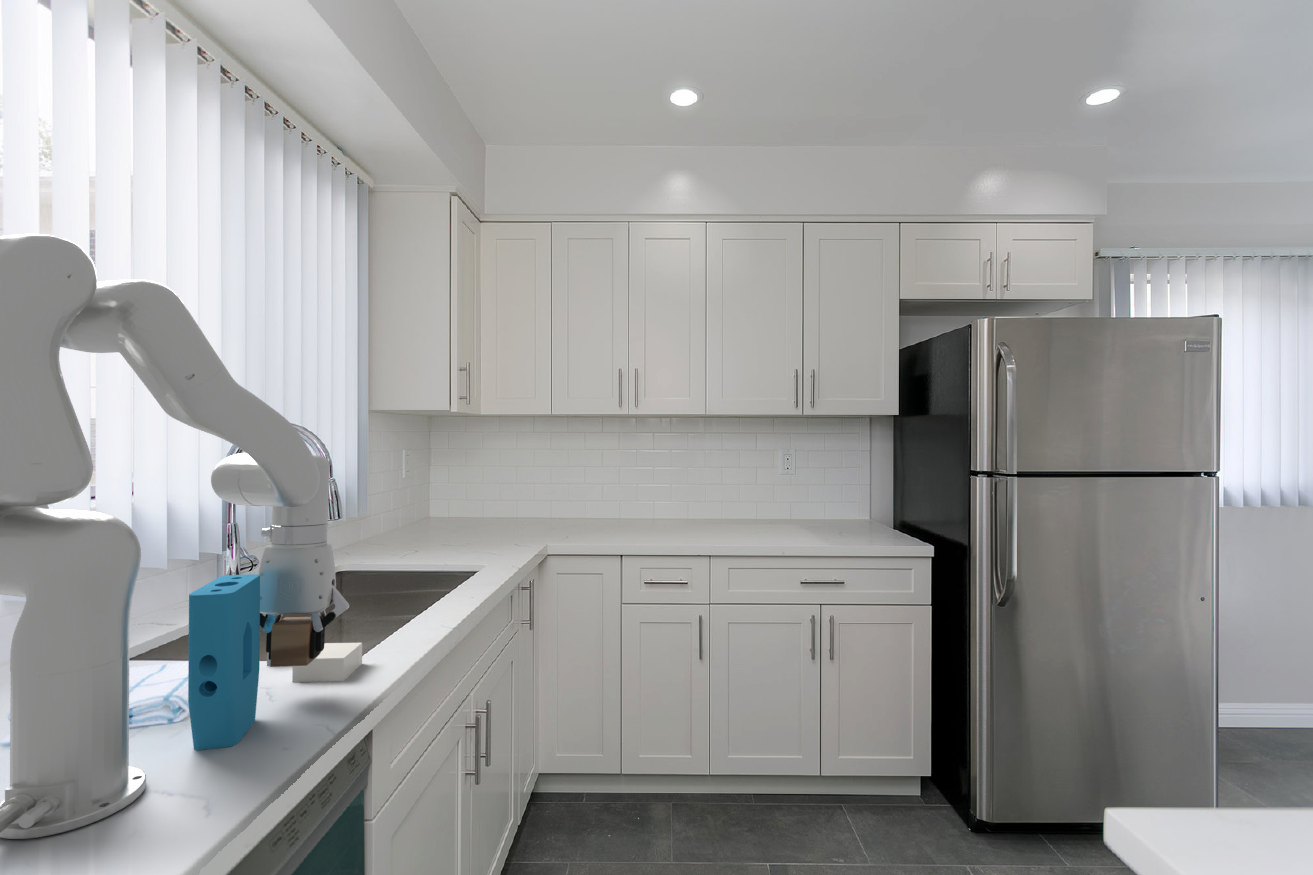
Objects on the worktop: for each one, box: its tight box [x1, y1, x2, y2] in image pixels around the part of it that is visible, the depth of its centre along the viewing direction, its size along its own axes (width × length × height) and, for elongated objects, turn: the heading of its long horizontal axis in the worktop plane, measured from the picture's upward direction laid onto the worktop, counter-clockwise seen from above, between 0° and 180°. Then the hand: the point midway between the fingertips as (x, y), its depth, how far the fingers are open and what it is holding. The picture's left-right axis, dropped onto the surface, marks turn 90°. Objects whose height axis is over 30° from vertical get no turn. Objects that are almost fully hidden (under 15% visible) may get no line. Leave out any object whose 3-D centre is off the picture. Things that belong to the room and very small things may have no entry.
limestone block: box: [291, 642, 363, 683], centre depth 110 cm, size 8×8×4 cm
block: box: [187, 573, 261, 751], centre depth 87 cm, size 12×5×20 cm, turn 16°
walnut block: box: [269, 616, 319, 668], centre depth 99 cm, size 5×5×6 cm
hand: (295, 655), depth 99 cm, fingers closed on walnut block, 5 cm apart
